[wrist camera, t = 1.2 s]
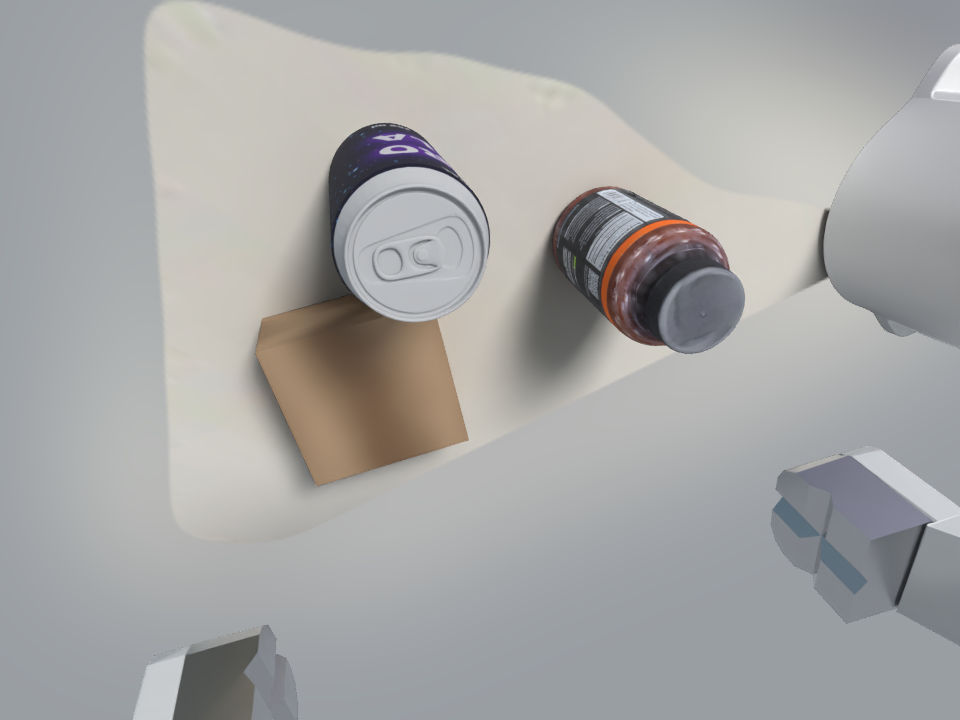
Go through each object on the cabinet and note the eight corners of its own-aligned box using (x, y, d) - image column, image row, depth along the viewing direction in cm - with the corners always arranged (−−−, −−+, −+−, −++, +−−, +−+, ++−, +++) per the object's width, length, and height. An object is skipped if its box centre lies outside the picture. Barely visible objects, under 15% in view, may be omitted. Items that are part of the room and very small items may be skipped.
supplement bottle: (661, 241, 36) (786, 321, 26) (580, 301, 36) (673, 400, 27) (617, 160, 32) (740, 216, 23) (529, 227, 33) (613, 309, 24)
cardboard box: (421, 275, 33) (432, 303, 30) (455, 402, 38) (468, 440, 34) (262, 318, 32) (255, 353, 29) (317, 444, 37) (316, 486, 34)
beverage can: (448, 222, 32) (507, 313, 22) (344, 243, 31) (354, 348, 21) (430, 111, 29) (488, 156, 19) (315, 131, 28) (310, 189, 18)
